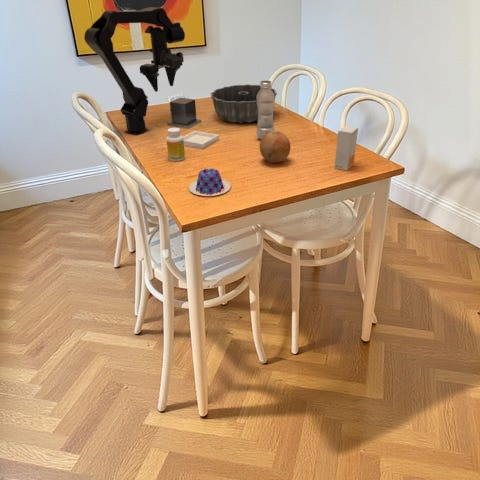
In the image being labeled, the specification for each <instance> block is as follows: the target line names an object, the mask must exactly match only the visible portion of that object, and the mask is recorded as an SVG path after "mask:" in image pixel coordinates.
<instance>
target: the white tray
mask: <svg viewBox="0 0 480 480" xmlns="http://www.w3.org/2000/svg"><path fill="white" fill-rule="evenodd" d="M182 136H183V141H184V147H189V148H190V147H191V148H195V149H200V150H205V149H207V147H209V146H211V145H213V144H214V143H216V142H218V141H219V140H220V135H219V134H216V133H212V132H211V133H210V132H206V131H205V132H203V131H199V130H193V131H191V132H189V133H187V134H186V135H182Z"/></svg>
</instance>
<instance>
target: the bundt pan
mask: <svg viewBox="0 0 480 480" xmlns="http://www.w3.org/2000/svg"><path fill="white" fill-rule="evenodd" d="M260 90H261V88H260V84H235V85H230V86H223V87H221V88H220V87H219V88H217V89H214V90H213V92H210V98H211V99H212V103H213V107H214V110H215V114H216V115H217V116H218V117H219V118H220V119H222V120H223V121H225V122H231V123H237V122H238V123H240V124H243V123H253V122H258V107H257V100H256V97H257V94H258V92H259V91H260ZM271 90H272V92H273V94H274V96H275V98H276V96H277V95H278V93H277V92H276V91H277V90H276V89H275V88H272V87H271ZM275 103H276V102H274V104H275Z"/></svg>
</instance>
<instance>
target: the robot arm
mask: <svg viewBox="0 0 480 480" xmlns="http://www.w3.org/2000/svg"><path fill="white" fill-rule="evenodd" d="M141 23H142V24H147V25H148V26H147V28H146V29H145V30H144V33H145V34H148V35H150V43H151V48H149V52H150V53H152V60H151V61H150V63H144V64H141V65H140V66H139V73H140V74H142V76H145V78H146V79H147V81H148V82H149V84H150V85H151V87H152V89H153V90H154V92H158V91H159V86H158V85H159V83H158V78H159V76H160V73H159V71H160V69H163V68H164V70H165V73H166V77H167V81H168V85H169V86H170V87H173V86H174V82H175V77H176V74H177V72H178V70H180V69H181V66H183V63H184V54H183V52H182V51H179V52H176V53H172V50H171V48H170V47H168V44H175V43H182V42H183V41H185V37H186V34H185V33H186V32H185V31H184V28H183V27H182V26H181V22H179V21H176V22H172V21H171V19H170V18H169V16H168V14H167V11H166V9H164V8H163V7H152V6H149V7H146V8H142V9H140V10H105V11H103V12H102V14H101V16H99V18H98V19H97V20H95V21H94V22H93V23H92V24H91V26H90V28H89V27H88V28H87V29H86V30H85V32H84V37H83V39H84V41H85V43H86V45H87V46H88V47H89V48H90V49H91V50H92V51H93V52H94V53H95V54H97V55H98V56H99V57H100V58H101V60H102V62H103V63H104V65H105V66H106V68H107V69H108V71H109V72H110V74H111V76H112V77H113V79H114V80H115V82H116V83H117V85H118V87H119V89H120V90H121V91H122V98H123V101H124V103H123V105H122V107H121V108H120V112H121V114H122V116H123V115H124V117H125V123H126V124H125V125H126V129H127V130H124V133H125V134H131V135H135V136H137V135H138V136H139V135H140V134H142V133H145V132H147V131H148V130H149V129H148V128H146V121H145V117H146V115H147V110H148V106H149V100H148V98H149V96H148V95H146V92H145V91H144V89H143V88H141V87H139V86H138V87H137V86H135V85H134V83H133V81H132V80H131V78H130V77H129V75H128V73H127V71H126V70H125V69H124V67H123V65H122V63H121V62H120V60H119V58H118V57H117V55H116V53H115V52H114V43H113V40H112V38H113V37H114V35H115V32H116V27H117V25H118V24H141ZM154 26H155V27H154Z"/></svg>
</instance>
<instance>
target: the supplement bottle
mask: <svg viewBox="0 0 480 480" xmlns="http://www.w3.org/2000/svg"><path fill="white" fill-rule="evenodd" d="M183 136H184V135H182V134H181V128H180V127H170V128H168V129H167V136H166V148H167V156H168V159H169V161H170V162H171V161H172V162H178V161H183V160H184V159H185V157H186V154H185V146H184V141H183Z"/></svg>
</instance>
